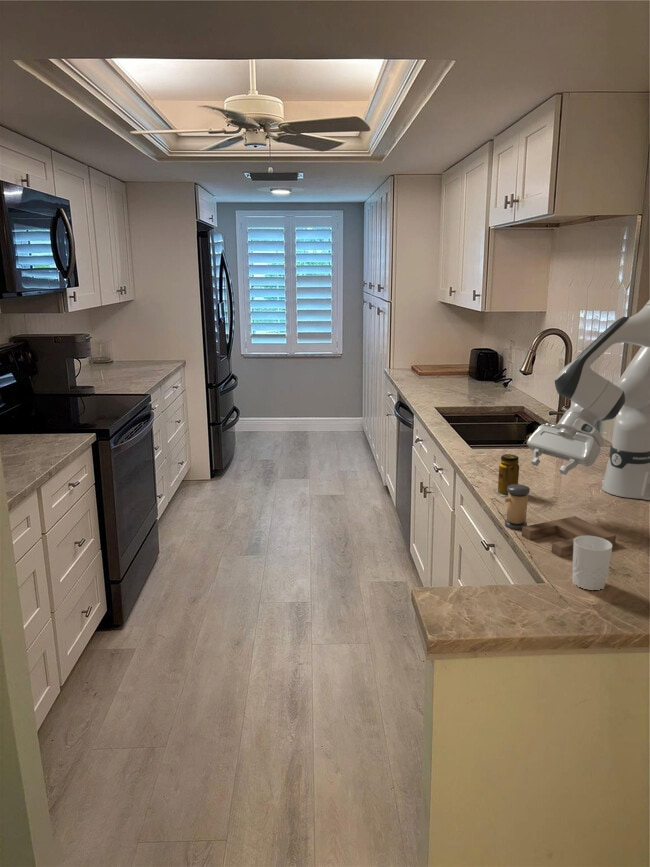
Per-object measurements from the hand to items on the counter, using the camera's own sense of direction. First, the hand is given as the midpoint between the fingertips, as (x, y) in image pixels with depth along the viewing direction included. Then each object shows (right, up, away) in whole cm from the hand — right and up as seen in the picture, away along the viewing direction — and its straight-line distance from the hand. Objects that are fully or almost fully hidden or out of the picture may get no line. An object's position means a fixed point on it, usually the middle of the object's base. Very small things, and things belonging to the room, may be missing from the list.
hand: (547, 468), depth 173 cm
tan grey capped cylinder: (-9, -16, -1) cm, 18 cm away
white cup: (-3, -24, -33) cm, 41 cm away
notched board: (+1, -18, -11) cm, 21 cm away
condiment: (-3, -9, +24) cm, 26 cm away
